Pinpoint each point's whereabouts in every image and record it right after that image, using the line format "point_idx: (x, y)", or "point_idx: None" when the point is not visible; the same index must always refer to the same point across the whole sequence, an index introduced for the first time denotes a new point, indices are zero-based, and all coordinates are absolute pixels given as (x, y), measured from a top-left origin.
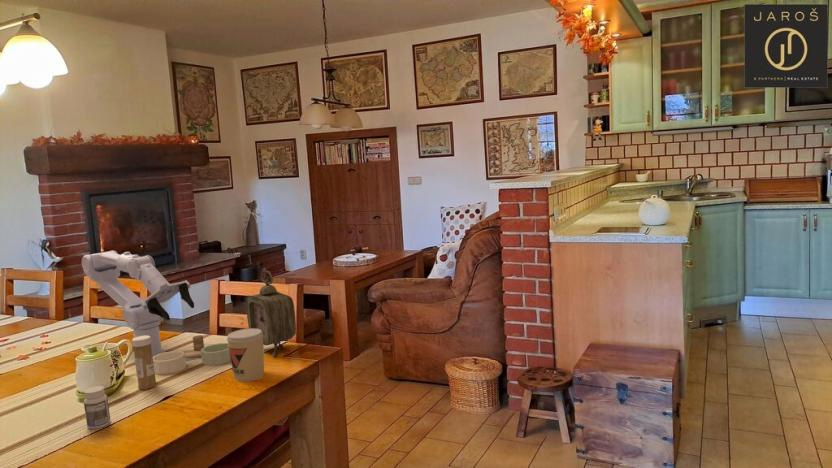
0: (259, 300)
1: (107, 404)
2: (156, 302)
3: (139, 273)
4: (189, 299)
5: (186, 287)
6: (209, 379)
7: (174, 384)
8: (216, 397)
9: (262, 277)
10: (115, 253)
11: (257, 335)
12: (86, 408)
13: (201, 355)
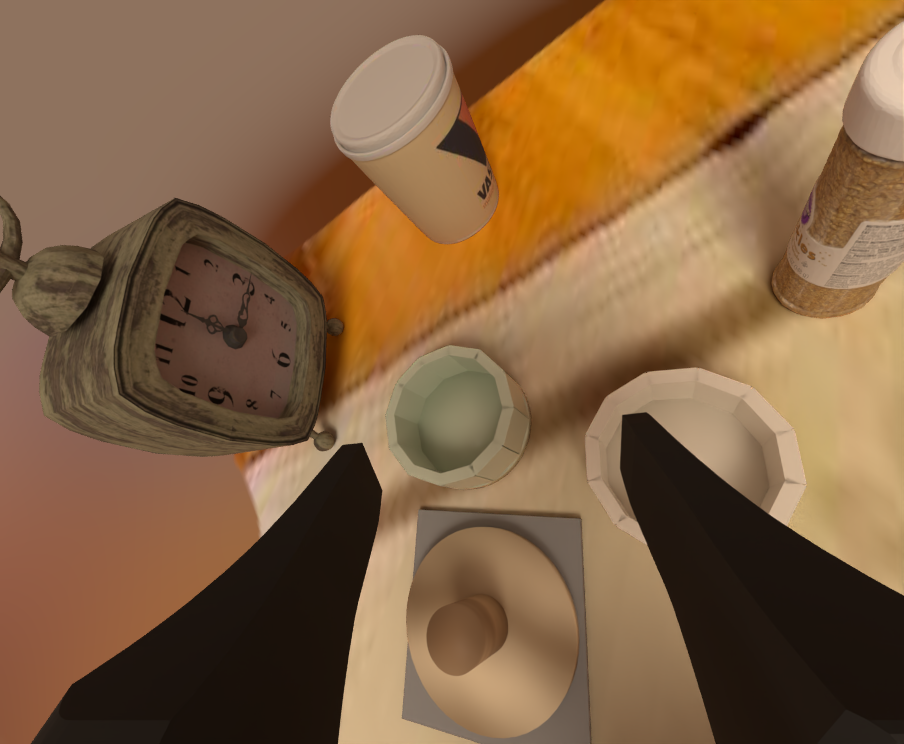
0: (156, 248)
1: None
2: (805, 607)
3: None
4: (332, 477)
5: (159, 634)
6: (560, 239)
7: (689, 252)
8: (586, 89)
9: None
10: None
11: (367, 64)
12: None
13: (519, 412)
